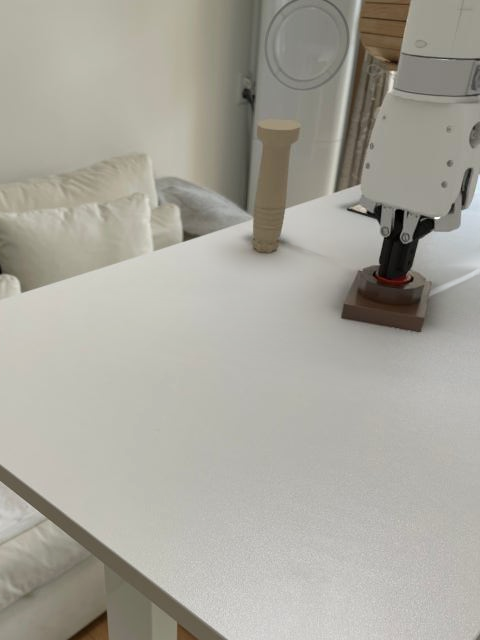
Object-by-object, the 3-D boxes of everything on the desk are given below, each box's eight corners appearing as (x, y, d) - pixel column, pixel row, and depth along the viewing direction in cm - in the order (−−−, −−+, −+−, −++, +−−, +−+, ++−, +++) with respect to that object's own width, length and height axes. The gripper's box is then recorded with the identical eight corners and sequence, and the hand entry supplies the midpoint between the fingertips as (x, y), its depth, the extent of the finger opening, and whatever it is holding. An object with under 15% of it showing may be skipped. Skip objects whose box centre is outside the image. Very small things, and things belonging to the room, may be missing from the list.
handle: (285, 242, 86) (301, 120, 78) (281, 260, 81) (298, 131, 73) (249, 239, 87) (260, 118, 78) (243, 256, 82) (255, 128, 73)
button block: (355, 284, 75) (361, 254, 73) (427, 296, 73) (435, 266, 71) (340, 318, 68) (346, 287, 66) (420, 333, 65) (429, 301, 63)
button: (374, 281, 71) (378, 266, 70) (408, 286, 70) (412, 271, 69) (370, 293, 68) (373, 277, 67) (405, 299, 67) (409, 283, 66)
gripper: (543, 86, 55) (477, 289, 65) (391, 67, 64) (356, 247, 75) (499, 93, 51) (437, 308, 62) (344, 71, 60) (314, 261, 71)
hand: (392, 274), depth 68 cm, fingers closed
